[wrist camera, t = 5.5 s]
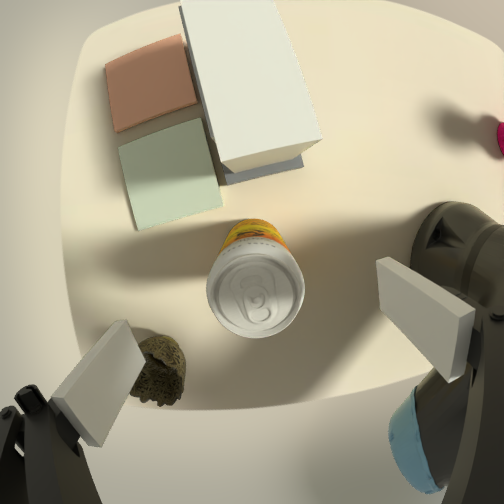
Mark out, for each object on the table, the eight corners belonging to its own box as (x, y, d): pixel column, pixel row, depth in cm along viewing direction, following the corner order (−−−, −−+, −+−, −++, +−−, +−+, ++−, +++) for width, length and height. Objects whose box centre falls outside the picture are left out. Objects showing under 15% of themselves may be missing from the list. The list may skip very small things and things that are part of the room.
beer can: (274, 211, 30) (295, 235, 15) (287, 264, 31) (316, 330, 16) (219, 226, 30) (189, 262, 15) (234, 278, 31) (221, 352, 17)
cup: (198, 327, 33) (184, 365, 25) (193, 373, 34) (182, 413, 27) (141, 315, 32) (115, 347, 25) (141, 360, 34) (121, 396, 26)
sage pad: (224, 205, 29) (223, 206, 29) (141, 229, 30) (138, 231, 29) (201, 118, 27) (200, 117, 27) (120, 148, 28) (117, 147, 27)
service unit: (301, 167, 29) (342, 152, 15) (228, 185, 29) (208, 183, 15) (259, 30, 25) (263, -47, 11) (192, 45, 25) (160, -25, 11)
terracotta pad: (197, 103, 27) (196, 101, 26) (117, 132, 27) (114, 131, 27) (181, 36, 25) (180, 33, 24) (107, 66, 25) (105, 64, 24)
